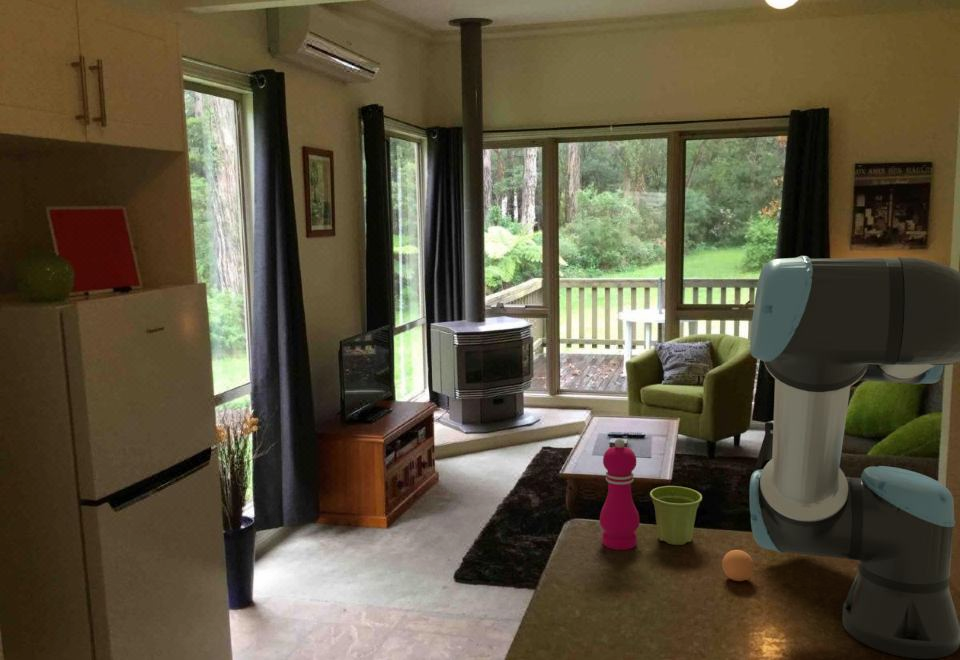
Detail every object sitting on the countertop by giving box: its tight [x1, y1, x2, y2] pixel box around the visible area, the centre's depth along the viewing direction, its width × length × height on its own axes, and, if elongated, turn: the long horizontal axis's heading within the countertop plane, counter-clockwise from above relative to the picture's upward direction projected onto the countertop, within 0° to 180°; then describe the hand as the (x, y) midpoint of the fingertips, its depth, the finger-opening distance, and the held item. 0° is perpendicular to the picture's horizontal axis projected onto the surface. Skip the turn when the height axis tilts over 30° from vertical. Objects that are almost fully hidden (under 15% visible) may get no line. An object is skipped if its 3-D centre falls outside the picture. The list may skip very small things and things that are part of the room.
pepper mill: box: [599, 438, 640, 551], centre depth 149 cm, size 7×7×20 cm
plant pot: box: [649, 485, 703, 546], centre depth 151 cm, size 9×9×9 cm
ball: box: [721, 549, 755, 582], centre depth 135 cm, size 5×5×5 cm
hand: (798, 523), depth 142 cm, fingers closed on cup, 10 cm apart
